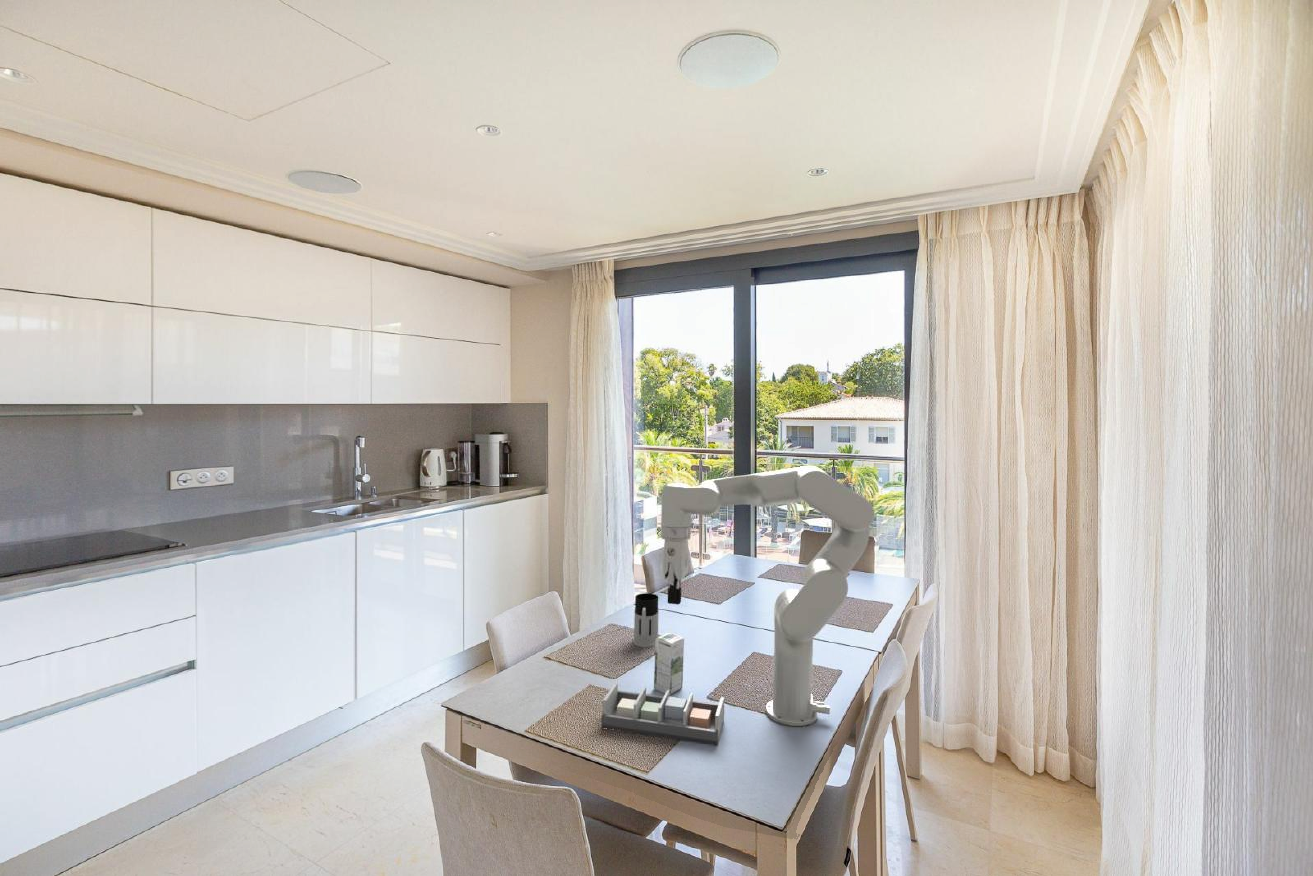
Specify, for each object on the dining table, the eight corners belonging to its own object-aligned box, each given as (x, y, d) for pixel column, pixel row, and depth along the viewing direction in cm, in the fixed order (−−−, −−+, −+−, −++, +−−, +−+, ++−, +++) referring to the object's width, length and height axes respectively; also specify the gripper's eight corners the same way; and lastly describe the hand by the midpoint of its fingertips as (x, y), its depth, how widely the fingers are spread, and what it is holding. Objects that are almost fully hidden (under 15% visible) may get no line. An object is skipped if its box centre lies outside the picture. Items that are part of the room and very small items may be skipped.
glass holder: (660, 637, 207) (661, 593, 206) (656, 654, 193) (657, 607, 192) (634, 636, 208) (635, 592, 207) (628, 653, 194) (629, 605, 193)
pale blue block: (686, 711, 152) (686, 699, 151) (682, 719, 147) (683, 707, 147) (668, 708, 153) (669, 696, 152) (664, 717, 148) (665, 705, 148)
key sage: (662, 715, 153) (662, 703, 153) (658, 724, 149) (658, 712, 149) (645, 713, 154) (645, 701, 154) (640, 722, 150) (640, 709, 150)
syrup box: (666, 682, 174) (667, 631, 173) (683, 688, 170) (684, 637, 170) (653, 689, 170) (654, 637, 169) (670, 696, 166) (671, 643, 165)
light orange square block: (710, 722, 150) (710, 710, 150) (707, 731, 146) (708, 719, 146) (692, 719, 151) (693, 708, 151) (689, 729, 147) (689, 716, 147)
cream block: (638, 712, 155) (639, 700, 154) (634, 721, 150) (634, 709, 150) (622, 710, 156) (622, 698, 155) (616, 718, 151) (616, 706, 151)
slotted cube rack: (723, 722, 153) (724, 696, 153) (717, 745, 142) (718, 717, 142) (615, 706, 160) (615, 681, 159) (601, 728, 149) (601, 701, 148)
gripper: (684, 539, 150) (683, 614, 151) (695, 527, 164) (693, 595, 165) (654, 537, 152) (653, 611, 153) (667, 525, 166) (666, 593, 167)
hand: (674, 602), depth 159 cm, fingers closed
